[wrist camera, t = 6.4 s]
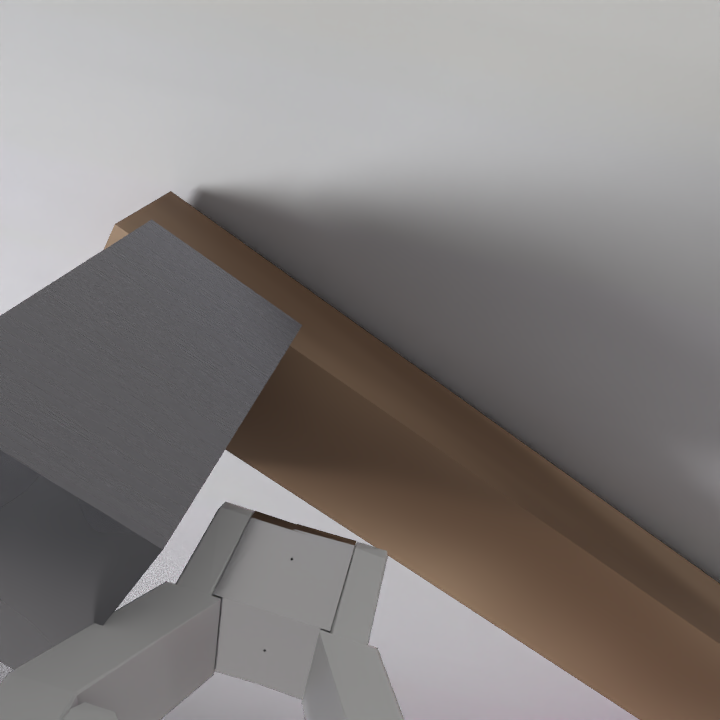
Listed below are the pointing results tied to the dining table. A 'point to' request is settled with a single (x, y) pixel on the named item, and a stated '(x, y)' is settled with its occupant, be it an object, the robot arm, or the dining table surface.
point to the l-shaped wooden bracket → (305, 465)
